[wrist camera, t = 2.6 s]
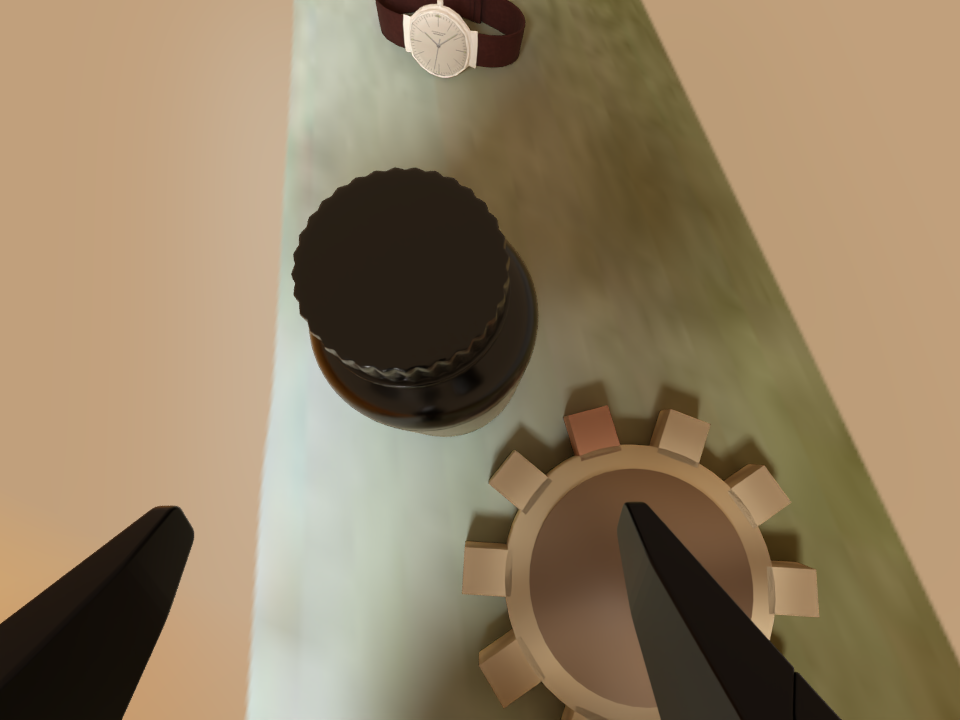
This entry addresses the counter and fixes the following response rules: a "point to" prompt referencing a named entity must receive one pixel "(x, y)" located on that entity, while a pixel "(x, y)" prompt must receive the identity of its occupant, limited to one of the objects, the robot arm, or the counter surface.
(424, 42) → the watch
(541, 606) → the sprocket wheel
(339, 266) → the supplement bottle
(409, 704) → the counter surface
